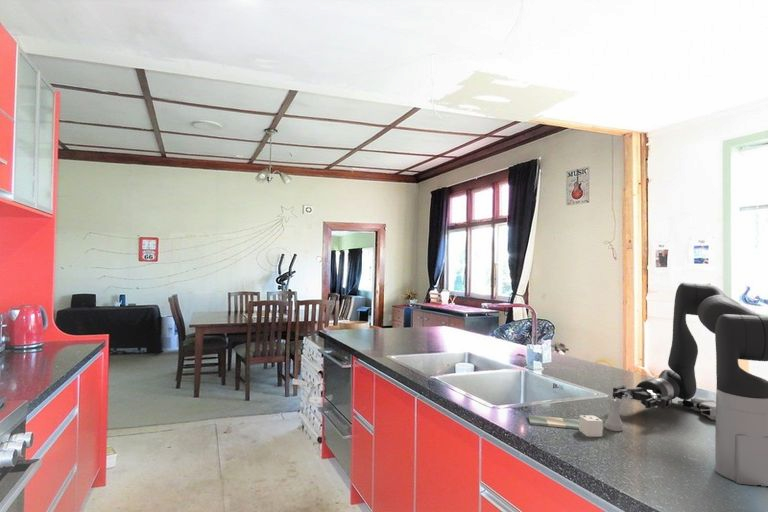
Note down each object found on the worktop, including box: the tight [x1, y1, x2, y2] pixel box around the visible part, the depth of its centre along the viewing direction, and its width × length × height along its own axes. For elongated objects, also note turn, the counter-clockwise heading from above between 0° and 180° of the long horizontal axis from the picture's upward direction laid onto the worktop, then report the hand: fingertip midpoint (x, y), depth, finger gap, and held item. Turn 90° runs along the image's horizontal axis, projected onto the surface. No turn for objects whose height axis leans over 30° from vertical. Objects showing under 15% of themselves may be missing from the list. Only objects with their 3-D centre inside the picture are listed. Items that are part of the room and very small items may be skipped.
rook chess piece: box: [604, 396, 624, 432], centre depth 122 cm, size 4×4×8 cm
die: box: [578, 414, 604, 438], centre depth 118 cm, size 4×4×4 cm
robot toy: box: [677, 397, 716, 421], centre depth 136 cm, size 12×4×15 cm
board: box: [527, 414, 604, 432], centre depth 125 cm, size 6×18×1 cm, turn 79°
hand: (630, 400), depth 128 cm, fingers open, 8 cm apart
